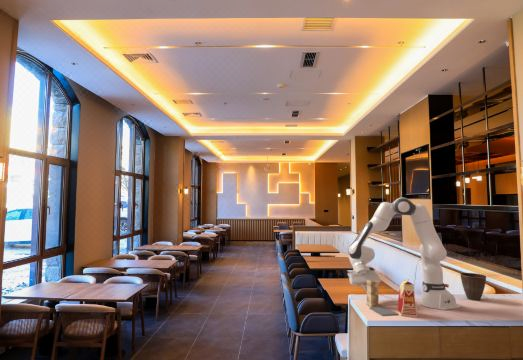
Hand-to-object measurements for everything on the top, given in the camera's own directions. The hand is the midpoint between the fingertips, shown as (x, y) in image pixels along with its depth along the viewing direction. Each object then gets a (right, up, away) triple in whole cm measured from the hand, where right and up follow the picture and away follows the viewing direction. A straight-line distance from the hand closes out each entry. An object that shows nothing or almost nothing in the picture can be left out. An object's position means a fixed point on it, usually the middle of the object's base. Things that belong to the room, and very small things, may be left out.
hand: (369, 290), depth 217 cm
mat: (+3, -7, -17) cm, 18 cm away
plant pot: (+74, -11, +14) cm, 76 cm away
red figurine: (+15, -7, -20) cm, 27 cm away
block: (+1, -8, -5) cm, 9 cm away
